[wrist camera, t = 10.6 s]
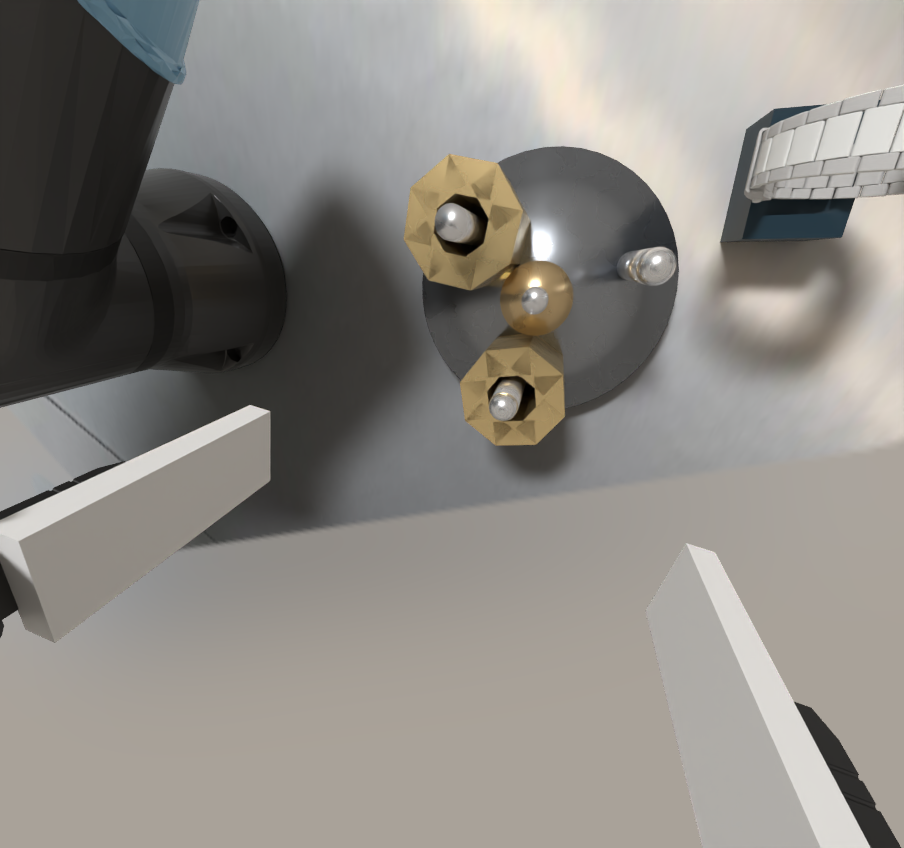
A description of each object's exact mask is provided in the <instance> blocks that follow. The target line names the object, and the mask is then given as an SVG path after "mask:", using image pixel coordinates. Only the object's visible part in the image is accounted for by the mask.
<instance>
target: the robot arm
mask: <svg viewBox="0 0 904 848" xmlns="http://www.w3.org/2000/svg"><path fill="white" fill-rule="evenodd" d="M198 3H199V0H0V408H1V407H5V406H9V405H12V404H16V403H20V402H24V401H28V400H32V399H36V398H39V397H43V396H47V395H51V394H55V393H59V392H62V391H66V390H70V389H74V388H78V387H82V386H86V385H89V384H93V383H97V382H101V381H105V380H109V379H113V378H116V377H120V376H124V375H127V374H131V373H135V372H139V371H143V370H148V369H155V370H171V371H186V372H202V373H219V372H226V371H230V370H233V369H236V368H240V367H243V366H246V365H249V364H251V363H253V362H255V361H257V360H259V359H260V358H262V357H263V356H264V355H265V354H266V353H267V352H268V351H269V350H270V349H271V348H272V346H273V345H274V343H275V342H276V340H277V338H278V336H279V334H280V331H281V328H282V325H283V322H284V317H285V310H286V286H285V278H284V273H283V269H282V265H281V261H280V258H279V255H278V252H277V250H276V247H275V245H274V243H273V241H272V239H271V237H270V235H269V233H268V231H267V229H266V228H265V226H264V224H263V223H262V221H261V220H260V218H259V217H258V216H257V215H256V213H255V212H254V211H253V210H252V208H251V207H250V206H249V205H248V204H247V203H246V202H245V201H244V200H243V199H242V198H241V197H240V196H239V195H237V194H236V193H235V192H234V191H232V190H231V189H230V188H228V187H227V186H225V185H223V184H222V183H220V182H218V181H216V180H214V179H211V178H208V177H205V176H202V175H198V174H193V173H189V172H185V171H181V170H176V169H164V168H158V169H149V170H146V167H147V164H148V161H149V158H150V155H151V152H152V149H153V146H154V143H155V140H156V137H157V134H158V131H159V128H160V125H161V122H162V119H163V116H164V113H165V110H166V107H167V104H168V101H169V98H170V95H171V92H172V89H173V86H174V84H182V83H183V81H184V78H185V75H186V69H185V63H184V60H183V59H184V55H185V52H186V48H187V44H188V40H189V37H190V33H191V29H192V26H193V22H194V18H195V14H196V11H197V7H198ZM270 412H271V411H268V410H265V409H261V408H258V407H255V406H252V405H249V406H247V407H244V408H242V409H240V410H238V411H236V412H234V413H231V414H229V415H227V416H225V417H223V418H221V419H218V420H216V421H214V422H212V423H210V424H208V425H205V426H203V427H201V428H199V429H197V430H195V431H192V432H190V433H188V434H186V435H184V436H182V437H179V438H177V439H175V440H173V441H171V442H169V443H166V444H164V445H162V446H160V447H158V448H156V449H153V450H151V451H149V452H147V453H145V454H142V455H140V456H138V457H136V458H134V459H132V460H129V461H127V462H125V461H124V462H120V463H116V464H112V465H108V466H104V467H100V468H97V469H95V470H92V471H90V472H88V473H86V474H84V475H81V476H79V477H77V478H75V479H73V481H72V482H70V481H68V482H66V483H63V484H61V485H59V486H57V487H54V488H53V490H52V491H49V490H48V491H45V492H43V493H41V494H39V495H36V496H34V497H32V498H30V499H28V500H25V501H23V502H21V503H18V504H16V505H14V506H12V507H10V508H7V509H5V510H3V511H1V512H0V637H1V636H2V632H3V628H4V624H3V622H2V620H3V619H4V618H6V617H7V616H9V615H10V614H12V613H13V612H15V611H17V610H18V612H19V614H20V617H21V619H22V622H23V624H24V627H25V629H26V630H28V631H30V632H32V633H35V634H37V635H39V636H41V637H43V638H45V639H48V640H50V641H52V642H54V643H55V642H57V641H58V640H59V639H61V638H62V637H63V636H65V635H66V634H67V633H69V632H70V631H71V630H73V629H74V628H75V627H77V626H78V625H79V624H81V623H82V622H83V621H85V620H86V619H87V618H88V617H90V616H91V615H93V614H94V613H95V612H97V611H98V610H99V609H101V608H102V607H103V606H105V605H106V604H107V603H108V602H110V601H111V600H112V599H114V598H115V597H116V596H118V595H119V594H121V593H122V592H123V591H125V590H126V589H127V588H128V587H129V586H131V585H132V584H134V583H135V582H136V581H138V580H139V579H140V578H142V577H143V576H144V575H146V574H147V573H148V572H150V571H151V570H152V569H154V568H155V567H156V566H157V565H159V564H160V563H162V562H163V561H164V560H166V559H167V558H168V557H170V556H171V555H172V554H174V553H175V552H176V551H178V550H179V549H180V548H182V547H183V546H184V545H186V544H187V543H188V542H190V541H191V540H192V539H194V538H195V537H196V536H198V535H199V534H200V533H202V532H203V531H204V530H206V529H207V528H208V527H210V526H211V525H212V524H213V523H215V522H216V521H217V520H219V519H220V518H221V517H223V516H224V515H225V514H227V513H228V512H229V511H231V510H232V509H233V508H235V507H236V506H237V505H239V504H240V503H241V502H243V501H244V500H245V499H247V498H248V497H249V496H251V495H252V494H253V493H255V492H256V491H257V490H259V489H260V488H261V487H263V486H264V485H265V484H267V483H268V482H269V481H270ZM646 615H647V619H648V623H649V627H650V632H651V636H652V640H653V644H654V648H655V652H656V657H657V661H658V665H659V669H660V673H661V677H662V681H663V686H664V690H665V694H666V698H667V702H668V707H669V710H670V715H671V719H672V723H673V727H674V732H675V735H676V740H677V744H678V748H679V752H680V757H681V760H682V765H683V769H684V773H685V777H686V781H687V786H688V790H689V794H690V798H691V802H692V807H693V811H694V815H695V819H696V823H697V827H698V832H699V836H700V840H701V844H702V848H901V847H900V845H899V843H898V841H897V840H896V838H895V836H894V834H893V833H892V831H891V829H890V828H889V826H888V824H887V822H886V821H885V819H884V817H883V815H882V814H881V812H880V811H877V810H876V808H875V802H874V800H873V798H872V797H871V795H870V793H869V792H868V790H867V788H866V786H865V784H864V783H863V782H862V781H860V780H859V779H858V775H859V774H858V772H857V771H856V769H855V767H854V765H853V764H852V762H851V760H850V759H849V757H848V755H847V754H846V752H845V750H844V748H843V746H842V745H841V743H840V741H839V740H838V739H837V737H836V736H835V735H834V734H833V733H832V732H831V730H830V729H829V728H828V727H827V726H826V724H825V723H824V722H823V721H822V720H821V719H820V717H819V716H818V715H817V714H816V713H815V712H814V710H813V709H812V708H810V707H807V706H805V705H802V704H799V703H796V702H794V701H793V700H792V698H791V696H790V694H789V692H788V690H787V688H786V686H785V684H784V682H783V681H782V679H781V677H780V675H779V673H778V671H777V669H776V667H775V666H774V664H773V662H772V660H771V658H770V656H769V654H768V652H767V650H766V648H765V646H764V644H763V643H762V641H761V639H760V637H759V635H758V633H757V631H756V629H755V628H754V626H753V624H752V622H751V620H750V618H749V616H748V614H747V612H746V610H745V608H744V607H743V605H742V603H741V601H740V599H739V597H738V595H737V593H736V591H735V590H734V588H733V586H732V584H731V582H730V580H729V578H728V576H727V574H726V572H725V570H724V569H723V567H722V565H721V563H720V561H719V559H718V557H717V555H716V553H715V552H712V551H709V550H706V549H703V548H700V547H696V546H693V545H690V544H687V543H686V544H685V546H684V548H683V549H682V551H681V553H680V554H679V556H678V558H677V559H676V561H675V563H674V564H673V566H672V568H671V569H670V571H669V573H668V574H667V576H666V578H665V579H664V581H663V583H662V584H661V586H660V588H659V589H658V591H657V593H656V594H655V596H654V598H653V599H652V601H651V603H650V604H649V606H648V608H647V609H646Z"/></svg>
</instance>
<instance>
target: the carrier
mask: <svg viewBox="0 0 904 848" xmlns="http://www.w3.org/2000/svg"><path fill="white" fill-rule="evenodd" d="M498 164H499V166H500V167H501V169H502V170H503V172H504V174H505V175H506V177H507V178H508V180H509V181H510V183H511V185H512V187H513V189H514V190H515V192H516V194H517V196H518V198H519V200H520V202H521V204H522V206H523V207H524V209H525V211H526V213H527V215H528V217H529V219H530V220H531V221H530V225H529V229H528V232H527V236H526V240H525V244H524V248H523V252H522V256H521V260H520V264H518V265H517V266H515V267H514V268H512V269H511V270H509V271H508V272H506V273H505V274H503V275H502V276H500V277H499V278H497V279H496V280H494V281H493V282H491V283H490V284H489V285H487V286H484V287H481V288H478V289H474V290H467V289H462V288H458V287H454V286H450V285H446V284H442V283H438V282H434V281H430V280H428V279H427V277H426V276H425V274H424V273H423V304H424V311H425V316H426V320H427V324H428V328H429V331H430V333H431V336H432V338H433V341H434V343H435V345H436V347H437V349H438V351H439V353H440V354H441V356H442V357H443V359H444V360H445V362H446V363H447V365H448V366H449V367H450V368H451V370H452V371H453V372H454V373H455V374H456V375H457V376H458V377H459V378H460V379H461V380H462V379H463V378H464V377H465V375H466V374H467V373H468V372H469V370H470V369H471V368H472V367H473V365H474V364H475V363H476V362H477V360H478V359H479V358H480V357H481V356H482V354H483V353H484V352H485V350H486V349H487V348H488V347H489V346H490V345H491V344H492V343H493V341H494V340H495V339H496V338H497V337H498V336H506V335H515V334H525V335H530V336H540V337H541V338H542V339H543V340H544V341H546V342H547V343H548V344H549V345H550V346H552V347H553V348H554V349H555V350H556V351H558V352H559V353H560V354H561V355H562V356H563V366H564V390H565V408H568V407H572V406H576V405H579V404H583V403H585V402H588V401H590V400H593V399H595V398H597V397H599V396H601V395H603V394H605V393H606V392H608V391H610V390H612V389H613V388H614V387H616V386H617V385H619V384H620V383H621V382H623V381H624V380H625V379H627V378H628V377H629V376H630V375H631V374H632V373H633V372H634V371H635V370H636V369H637V368H638V367H639V366H640V365H641V364H642V363H643V362H644V360H645V359H646V358H647V357H648V356H649V354H650V353H651V351H652V350H653V348H654V347H655V345H656V344H657V343H658V341H659V339H660V337H661V335H662V333H663V331H664V329H665V327H666V325H667V323H668V320H669V317H670V315H671V312H672V309H673V306H674V301H675V296H676V292H677V285H678V272H679V267H678V251H677V246H676V241H675V236H674V232H673V229H672V227H671V224H670V221H669V219H668V216H667V214H666V212H665V210H664V208H663V207H662V205H661V203H660V201H659V199H658V198H657V197H656V195H655V194H654V193H653V191H652V190H651V189H650V188H649V186H648V185H647V184H646V183H645V182H644V181H643V180H642V179H641V178H640V177H639V176H638V175H636V174H635V173H634V172H633V171H632V170H630V169H629V168H627V167H626V166H624V165H623V164H621V163H620V162H618V161H617V160H614V159H612V158H610V157H607V156H605V155H603V154H601V153H598V152H594V151H590V150H586V149H582V148H574V147H563V146H561V147H544V148H539V149H534V150H529V151H525V152H522V153H519V154H516V155H514V156H511V157H508V158H506V159H504V160H502V161H500V162H499V163H498ZM488 221H489V218H488V217H487V215H486V213H485V211H484V209H483V208H482V207H477V206H475V207H473V208H472V209H471V210H470V211H468V210H466V209H464V208H463V207H461V206H459V205H457V204H454V203H448V204H445V205H443V206H442V207H441V208H440V209H439V210H438V212H437V213H436V216H435V229H436V231H437V233H438V235H439V236H440V237H441V238H443V239H445V240H447V241H453V242H458V243H460V245H461V247H462V249H463V250H464V252H465V254H468V255H469V254H470V253H471V252H473V251H474V250H475V249H477V248H478V247H480V246H481V245H482V244H484V239H485V235H486V230H487V225H488ZM534 390H535V388H534V387H533V386H531V385H530V384H529V383H528V382H527V381H525V380H524V379H523V378H522V377H521V376H505V377H500V383H499V384H498V386H497V388H496V390H495V392H494V394H493V396H492V398H491V399H490V402H489V411H490V414H491V415H492V416H493V417H494V418H495V419H497V420H499V421H507V420H510V419H512V418H513V417H514V416H515V415H516V413H517V411H518V408H519V404H520V401H521V398H522V396H530V394H531V393H532V392H533V391H534Z"/></svg>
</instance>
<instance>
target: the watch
mask: <svg viewBox="0 0 904 848" xmlns="http://www.w3.org/2000/svg"><path fill="white" fill-rule="evenodd" d="M881 93H882V90H876V91H872V92H868V93H864V94H860V95H857V96H853V97H849V98H846V99H844V100H843V101H837V102H834V103H830V104H825V105H814V106H802V107H791V108H779V109H774V110H772V111H771V112H770V113H768V114H767V115H765V116H764V117H763V118H761V119H760V120H759V121H757V122H756V123H754V124H753V125H752V126H750V127H749V128H748V129H746V133H745V138H744V142H743V146H742V151H741V155H740V159H739V164H738V168H737V172H736V177H735V181H734V185H733V190H732V194H731V198H730V203H729V207H728V211H727V216H726V220H725V224H724V229H723V233H722V237H721V242H759V241H808V240H819V239H830V238H841V237H842V235H843V232H844V229H845V226H846V223H847V220H848V217H849V214H850V211H851V209H852V206H853V203H854V200H855V198H858V197H876V196H886V195H899V194H904V111H903V109H904V85H901V86H896V87H892V88H888V89H885V90H884V91H883V94H882V97H881V100H879V99H880V96H881ZM902 112H903V114H902ZM901 115H902V116H901ZM900 118H901V119H900ZM899 120H900V122H899ZM898 123H899V125H898ZM897 126H898V128H897ZM896 129H897V131H896ZM895 132H896V133H895ZM894 135H895V136H894ZM885 171H886V172H885ZM884 173H885V175H884ZM883 176H884V178H883ZM882 179H883V181H882ZM881 182H882V184H881ZM890 184H891V185H890ZM862 186H863V188H862ZM889 187H890V188H889ZM861 188H862V191H861ZM888 190H889V191H888ZM860 191H861V193H860ZM859 194H860V196H859Z"/></svg>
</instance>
